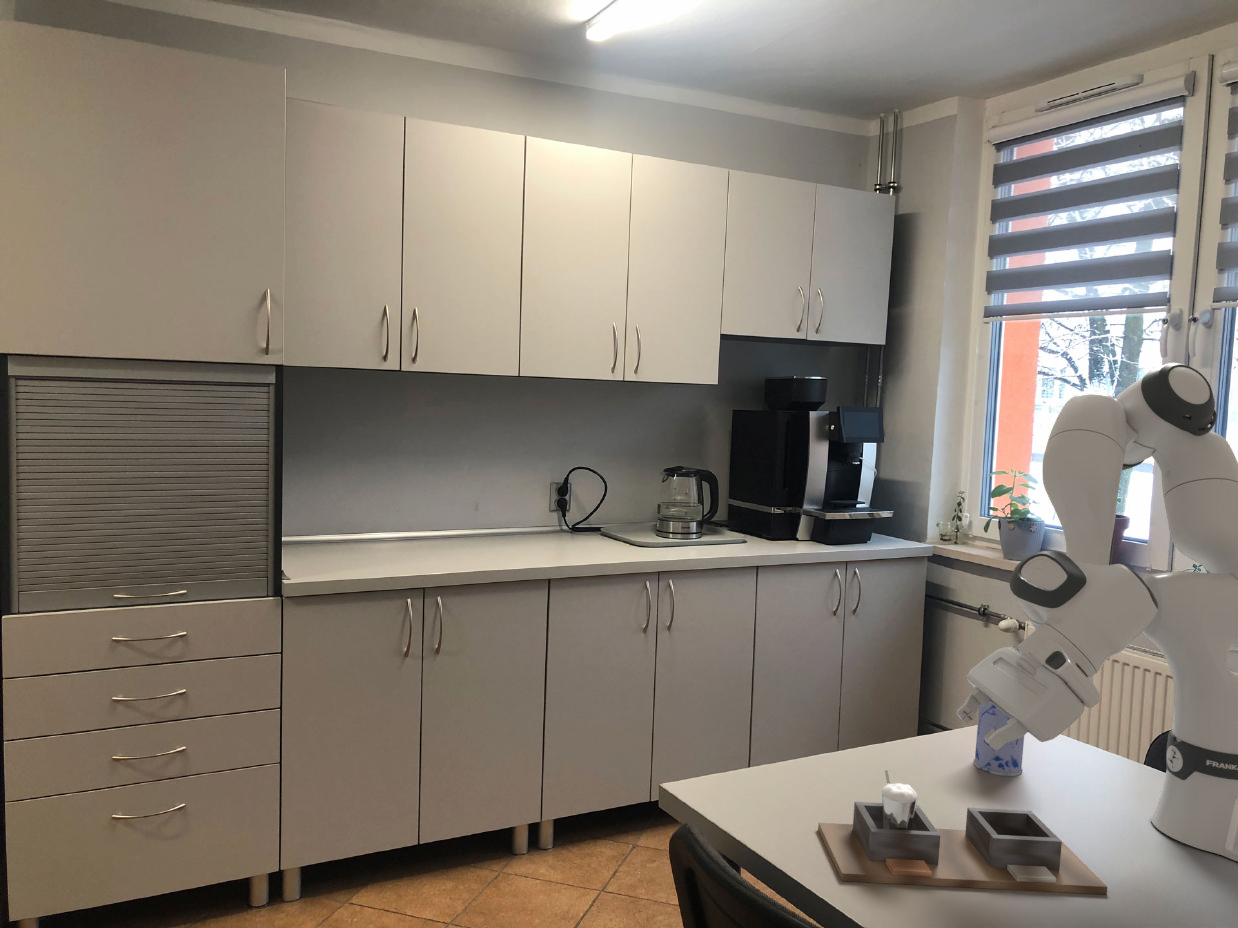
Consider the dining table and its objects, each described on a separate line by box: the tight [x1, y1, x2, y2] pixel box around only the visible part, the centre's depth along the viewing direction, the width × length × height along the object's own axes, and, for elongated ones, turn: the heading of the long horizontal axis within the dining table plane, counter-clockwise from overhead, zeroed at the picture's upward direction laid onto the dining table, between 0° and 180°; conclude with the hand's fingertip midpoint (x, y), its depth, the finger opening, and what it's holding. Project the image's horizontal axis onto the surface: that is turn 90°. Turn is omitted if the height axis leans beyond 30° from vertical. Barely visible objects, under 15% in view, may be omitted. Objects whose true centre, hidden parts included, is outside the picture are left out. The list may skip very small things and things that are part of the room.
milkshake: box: [881, 769, 918, 830], centre depth 123 cm, size 4×5×10 cm
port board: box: [817, 801, 1108, 895], centre depth 123 cm, size 34×14×5 cm, turn 90°
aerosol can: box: [973, 701, 1025, 777], centre depth 156 cm, size 8×8×20 cm
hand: (974, 730), depth 122 cm, fingers open, 8 cm apart
